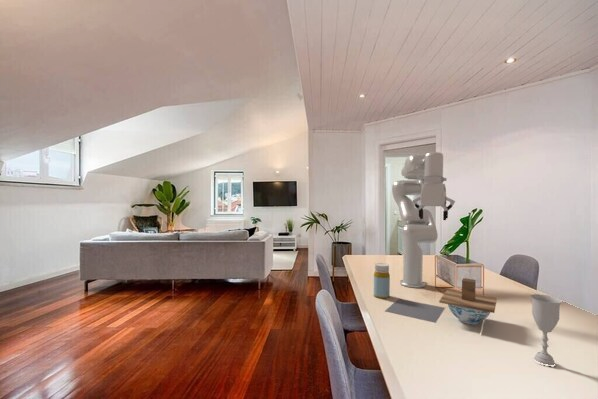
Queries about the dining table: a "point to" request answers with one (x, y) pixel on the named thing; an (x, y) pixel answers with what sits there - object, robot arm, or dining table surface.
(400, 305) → the mat
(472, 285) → the cover
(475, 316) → the chinaware
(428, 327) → the dining table surface
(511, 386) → the dining table surface
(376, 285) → the bottle
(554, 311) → the chalice
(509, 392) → the dining table surface
